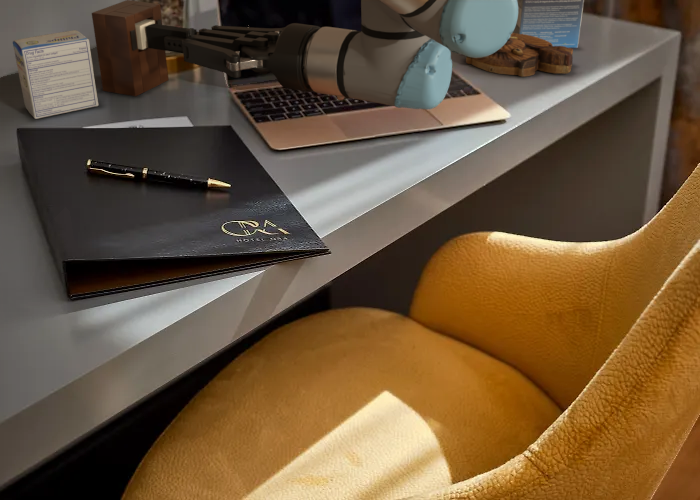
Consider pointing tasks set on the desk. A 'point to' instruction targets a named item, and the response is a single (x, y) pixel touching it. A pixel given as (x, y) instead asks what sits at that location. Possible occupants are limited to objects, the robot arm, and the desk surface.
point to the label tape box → (551, 20)
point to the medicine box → (56, 73)
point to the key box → (127, 49)
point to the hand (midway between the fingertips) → (150, 35)
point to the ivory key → (142, 33)
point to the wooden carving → (526, 57)
